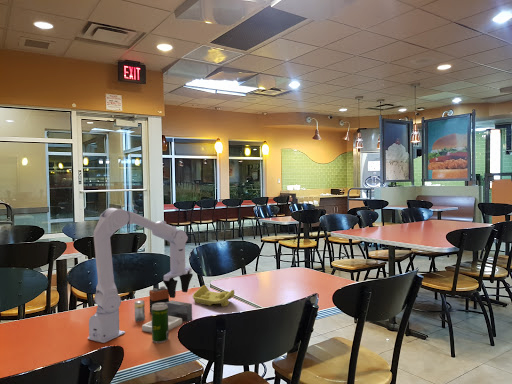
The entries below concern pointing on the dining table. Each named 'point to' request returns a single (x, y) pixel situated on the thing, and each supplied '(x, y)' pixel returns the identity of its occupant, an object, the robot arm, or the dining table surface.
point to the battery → (158, 296)
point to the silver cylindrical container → (139, 310)
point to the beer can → (160, 322)
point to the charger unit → (180, 310)
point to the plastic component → (212, 296)
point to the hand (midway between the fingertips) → (178, 294)
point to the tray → (172, 324)
